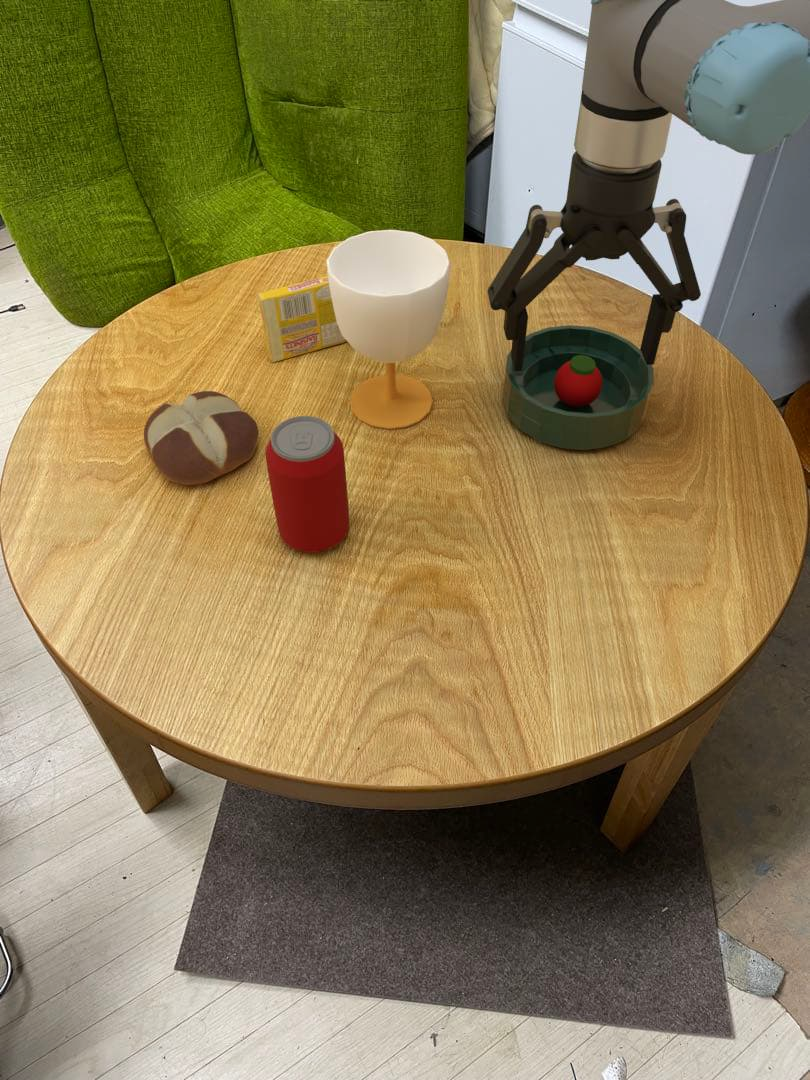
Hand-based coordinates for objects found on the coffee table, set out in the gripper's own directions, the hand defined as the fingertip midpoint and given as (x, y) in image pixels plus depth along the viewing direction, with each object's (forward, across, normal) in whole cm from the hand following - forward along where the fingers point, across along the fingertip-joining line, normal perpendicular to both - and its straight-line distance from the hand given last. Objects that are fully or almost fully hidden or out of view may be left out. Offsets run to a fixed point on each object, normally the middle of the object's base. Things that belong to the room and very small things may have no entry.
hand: (581, 360), depth 89 cm
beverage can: (+6, +28, +16) cm, 33 cm away
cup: (+6, +20, -2) cm, 21 cm away
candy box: (+6, +26, -14) cm, 30 cm away
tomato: (+6, 0, 0) cm, 6 cm away
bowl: (+6, 0, 0) cm, 6 cm away
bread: (+6, +39, +4) cm, 40 cm away
